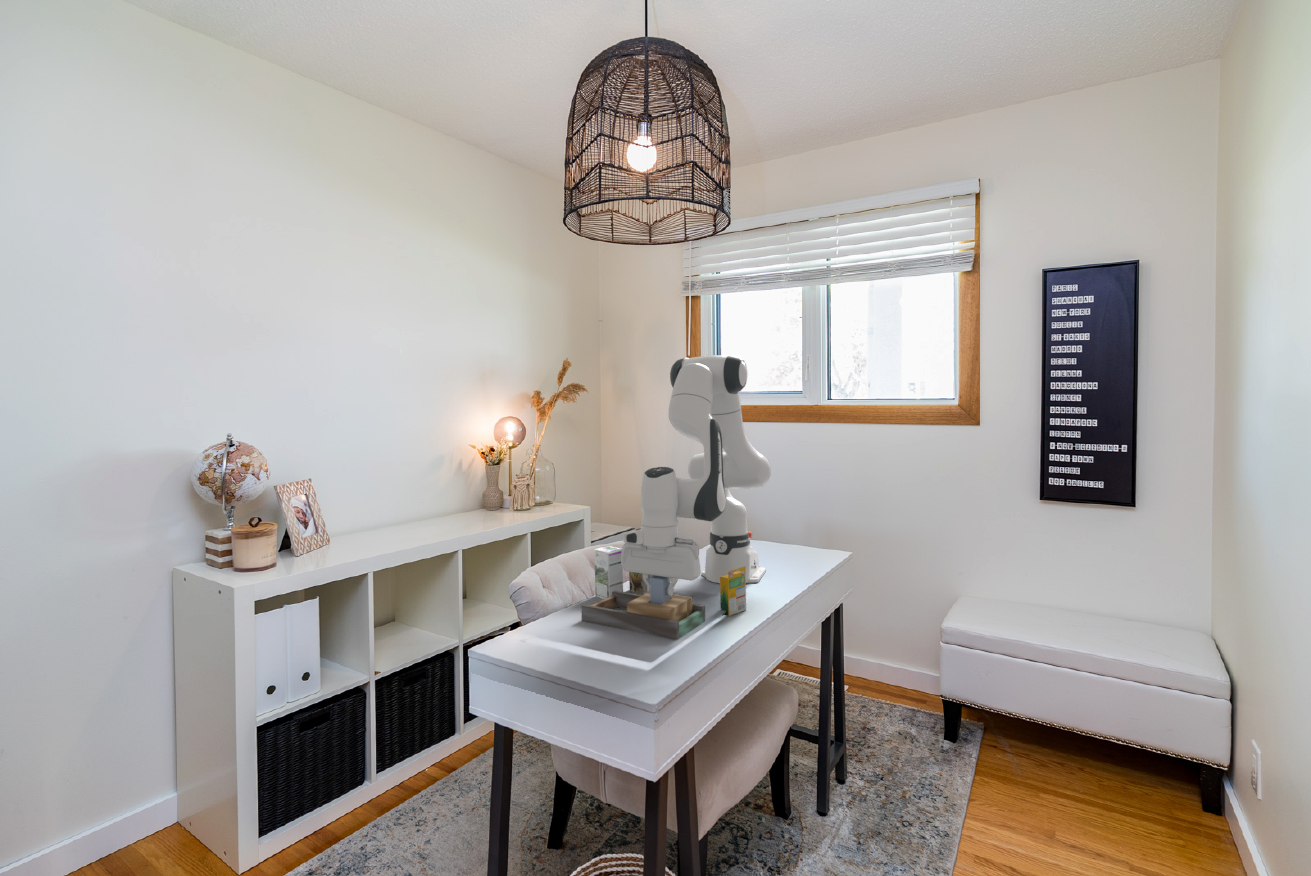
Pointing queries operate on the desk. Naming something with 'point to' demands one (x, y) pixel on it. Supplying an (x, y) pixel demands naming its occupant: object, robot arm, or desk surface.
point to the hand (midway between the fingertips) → (660, 593)
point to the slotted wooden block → (662, 607)
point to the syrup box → (608, 571)
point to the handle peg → (658, 589)
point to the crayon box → (733, 592)
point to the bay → (639, 617)
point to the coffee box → (637, 583)
